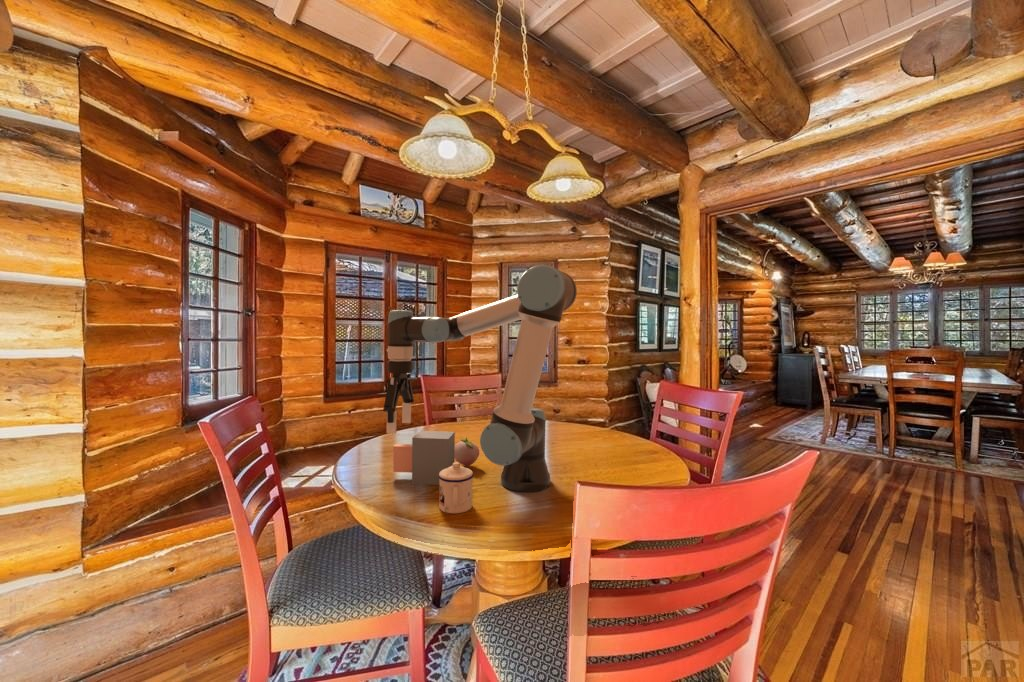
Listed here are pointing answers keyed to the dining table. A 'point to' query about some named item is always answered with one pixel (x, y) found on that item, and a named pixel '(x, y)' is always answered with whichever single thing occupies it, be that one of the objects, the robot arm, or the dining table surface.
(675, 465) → the dining table surface
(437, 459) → the gray rectangular block
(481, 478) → the dining table surface
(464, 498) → the teacup with lid
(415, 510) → the dining table surface
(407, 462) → the orange rectangular block
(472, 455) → the decorative fruit
